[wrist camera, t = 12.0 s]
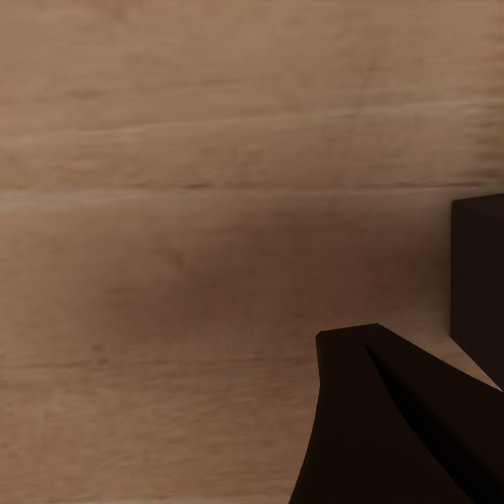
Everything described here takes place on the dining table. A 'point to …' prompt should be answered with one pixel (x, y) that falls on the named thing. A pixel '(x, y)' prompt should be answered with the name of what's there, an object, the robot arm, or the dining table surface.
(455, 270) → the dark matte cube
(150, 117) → the dining table surface
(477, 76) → the dining table surface
